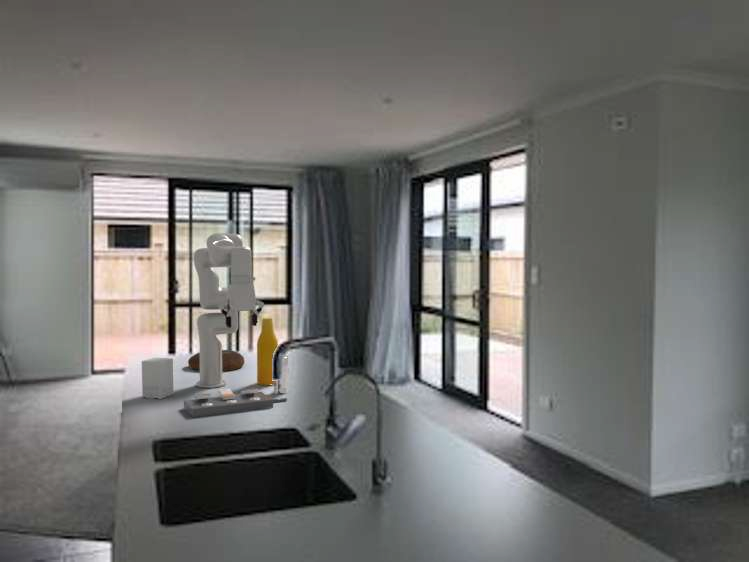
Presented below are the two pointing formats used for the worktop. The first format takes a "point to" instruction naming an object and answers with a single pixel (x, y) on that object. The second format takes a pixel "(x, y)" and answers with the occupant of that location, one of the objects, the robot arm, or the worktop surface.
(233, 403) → the power strip
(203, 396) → the rocker outlet
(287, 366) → the beer glass
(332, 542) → the worktop surface
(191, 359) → the bread
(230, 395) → the outlet rocker
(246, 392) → the outlet rocker
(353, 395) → the worktop surface
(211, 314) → the robot arm
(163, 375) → the supplement box
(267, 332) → the beer bottle
